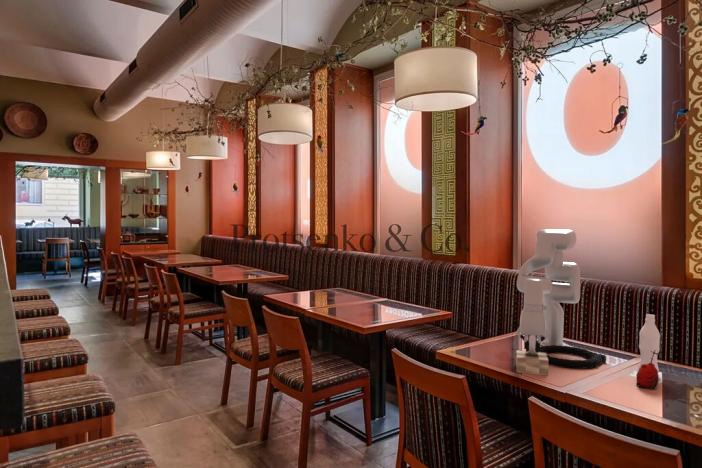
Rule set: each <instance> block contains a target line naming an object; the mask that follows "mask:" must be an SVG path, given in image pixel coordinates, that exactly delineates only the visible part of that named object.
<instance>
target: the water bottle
mask: <svg viewBox="0 0 702 468" xmlns="http://www.w3.org/2000/svg"><path fill="white" fill-rule="evenodd" d="M644 321H645V322H644V325H643V326H642V327H641V329H640V330H639V342H638V343H639V344H638V348H639V352H640V361H639V364H638V366H637V367H638V369H637V370H639V368H640V367H641V365H642V364H649V363H650V362H651V358H652V356H653V352H654V351H655V350H656V351H655V353H658V354H659V352H660V343H661V341H660V339H661V334H660V332H659V329H658V327H657V325H656V315H655V314H650V313H646V314H645V319H644ZM651 351H652V352H651ZM652 364H654V365H655V368H656V369H657V371H658V374H659V373H660V370H659V369H660V368H659V365H658V355H656V354H654V356H653V360H652Z"/></svg>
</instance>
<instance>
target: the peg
mask: <svg viewBox="0 0 702 468" xmlns="http://www.w3.org/2000/svg"><path fill="white" fill-rule="evenodd" d="M527 340H528V351H527V357H536V356H537V352H536V348H537V340H538V339H537V336H535V335H528V338H527Z"/></svg>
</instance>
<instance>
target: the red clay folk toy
mask: <svg viewBox="0 0 702 468" xmlns="http://www.w3.org/2000/svg"><path fill="white" fill-rule="evenodd" d="M655 351H656V350H655ZM655 351H654V352H653V356H654V354H656V355H657V356H659V352H658V353H655ZM651 352H652V351H651ZM653 356H652V358H651V362H650V363H649V364H642V365H641V367H640V368H639V369H637V373H636V375H635V376H636V382H635V383H636V386H638V387H641V388H643V389H649V390H650V389H651V390H653V389H656V388H657V387H658V385H659V384H658V383H659V373H658V371H657V369H656V368H655V365H654V364H652V360H653Z"/></svg>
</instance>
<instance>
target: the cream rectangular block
mask: <svg viewBox="0 0 702 468" xmlns="http://www.w3.org/2000/svg"><path fill="white" fill-rule="evenodd" d="M515 351H516V353H515V354H516V355H515V357H516V359H515V360H516V361H515V366H516V367H515V368H516V373H519V374H521V373H523V374H533V375H542V376H549V364H548V358H547V355H548V353H541V352H538V353H537V356H536V357H527V352H526V350H518V349H516V350H515Z"/></svg>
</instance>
